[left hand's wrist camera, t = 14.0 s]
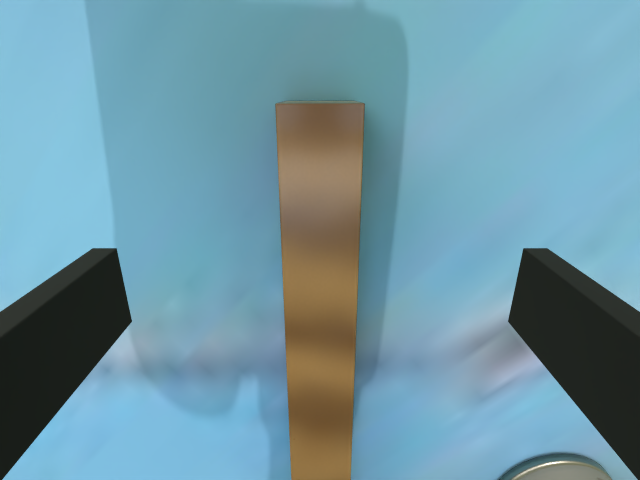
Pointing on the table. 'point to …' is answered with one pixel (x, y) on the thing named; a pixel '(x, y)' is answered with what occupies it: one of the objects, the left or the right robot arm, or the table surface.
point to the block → (320, 277)
